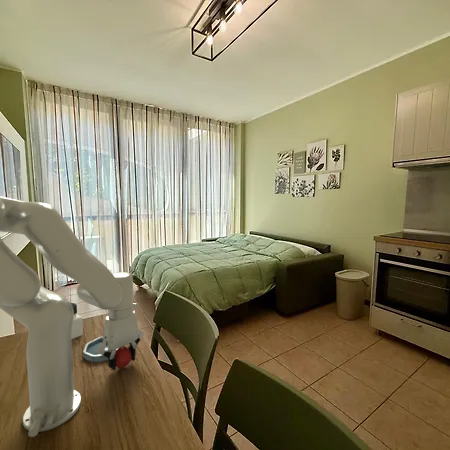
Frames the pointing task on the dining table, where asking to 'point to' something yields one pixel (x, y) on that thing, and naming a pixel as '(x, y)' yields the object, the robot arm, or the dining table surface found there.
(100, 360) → the dish
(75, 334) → the container
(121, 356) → the onion
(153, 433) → the dining table surface
